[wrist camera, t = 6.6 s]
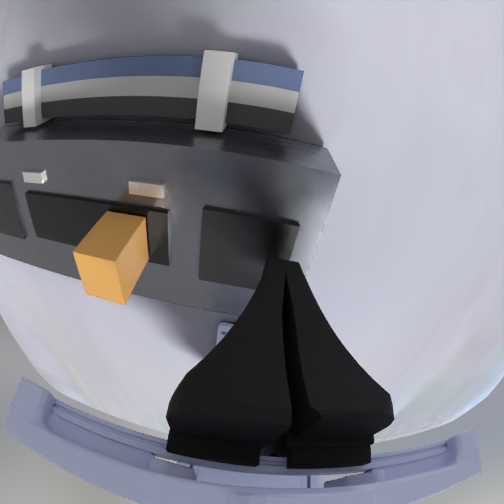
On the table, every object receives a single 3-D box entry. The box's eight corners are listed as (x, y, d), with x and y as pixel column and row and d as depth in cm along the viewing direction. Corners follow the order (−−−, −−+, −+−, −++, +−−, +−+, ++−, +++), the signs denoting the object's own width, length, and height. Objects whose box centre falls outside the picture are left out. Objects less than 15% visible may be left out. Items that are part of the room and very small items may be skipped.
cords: (288, 135, 13) (288, 144, 11) (15, 122, 12) (-1, 130, 11) (303, 64, 10) (306, 64, 9) (13, 74, 10) (-4, 79, 8)
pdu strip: (286, 280, 18) (285, 326, 15) (22, 228, 18) (-3, 255, 15) (327, 148, 13) (341, 177, 10) (1, 127, 12) (-35, 147, 9)
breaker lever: (148, 259, 13) (125, 304, 11) (113, 251, 13) (86, 293, 11) (145, 217, 12) (115, 261, 9) (107, 211, 11) (72, 251, 9)
